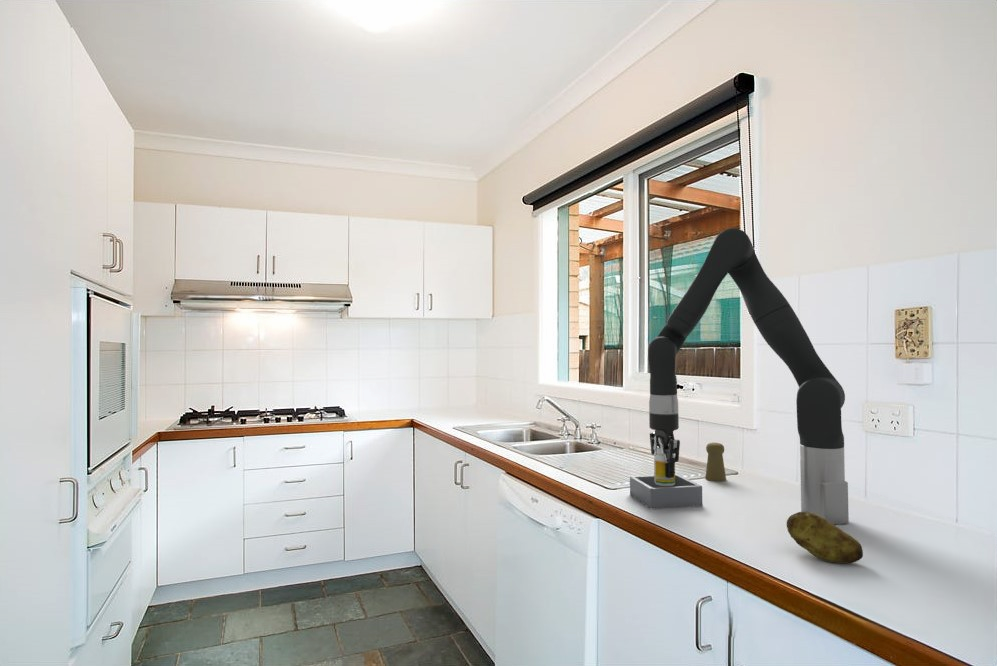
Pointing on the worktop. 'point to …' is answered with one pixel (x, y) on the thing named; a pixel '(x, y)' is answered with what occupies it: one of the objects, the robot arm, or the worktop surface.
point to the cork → (715, 463)
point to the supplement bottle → (661, 470)
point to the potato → (823, 538)
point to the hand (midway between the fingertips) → (664, 474)
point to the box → (666, 492)
